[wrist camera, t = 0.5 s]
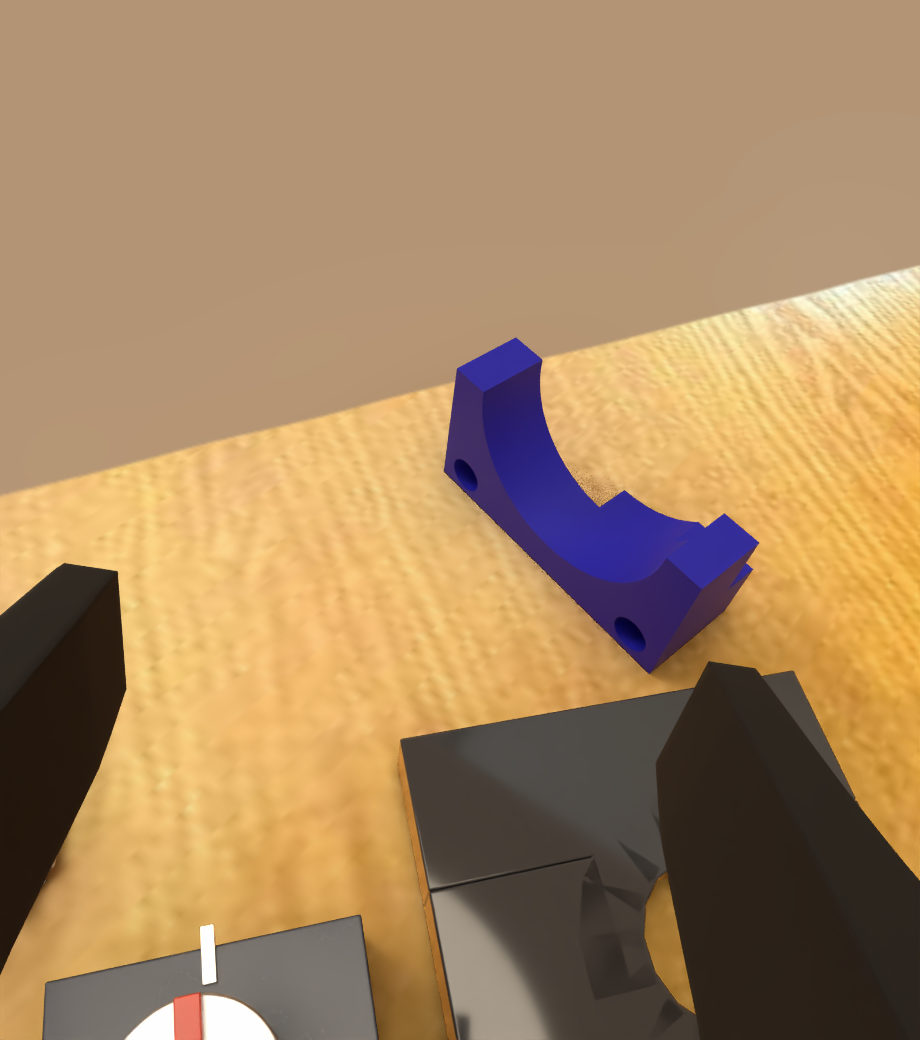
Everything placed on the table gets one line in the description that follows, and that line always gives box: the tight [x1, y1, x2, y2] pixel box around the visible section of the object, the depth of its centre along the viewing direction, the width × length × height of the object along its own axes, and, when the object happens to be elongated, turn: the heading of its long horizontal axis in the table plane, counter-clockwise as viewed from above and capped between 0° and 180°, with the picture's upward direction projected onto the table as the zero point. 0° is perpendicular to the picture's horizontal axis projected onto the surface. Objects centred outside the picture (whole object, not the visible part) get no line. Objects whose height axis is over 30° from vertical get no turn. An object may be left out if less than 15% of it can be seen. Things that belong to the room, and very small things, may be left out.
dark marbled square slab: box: [398, 671, 860, 1040], centre depth 25 cm, size 15×14×2 cm
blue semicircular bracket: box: [444, 338, 759, 674], centre depth 33 cm, size 12×4×6 cm, turn 40°
